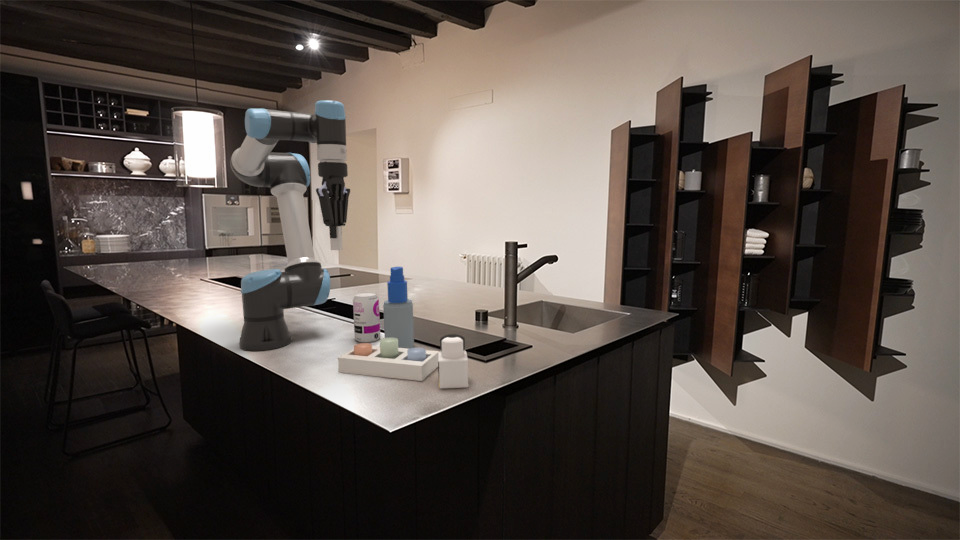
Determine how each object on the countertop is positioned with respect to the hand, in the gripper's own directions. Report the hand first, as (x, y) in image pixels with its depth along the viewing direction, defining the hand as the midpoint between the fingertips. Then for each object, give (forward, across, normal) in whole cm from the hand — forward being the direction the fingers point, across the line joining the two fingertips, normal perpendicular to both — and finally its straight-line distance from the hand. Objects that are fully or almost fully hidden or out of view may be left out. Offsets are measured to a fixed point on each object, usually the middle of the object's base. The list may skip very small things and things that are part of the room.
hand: (336, 249), depth 132 cm
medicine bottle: (+31, -8, -36) cm, 49 cm away
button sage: (+28, -3, -16) cm, 33 cm away
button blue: (+31, -3, -25) cm, 39 cm away
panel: (+31, -3, -16) cm, 36 cm away
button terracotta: (+31, -3, -9) cm, 32 cm away
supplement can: (+32, +20, +3) cm, 38 cm away
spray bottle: (+32, +15, -11) cm, 37 cm away
